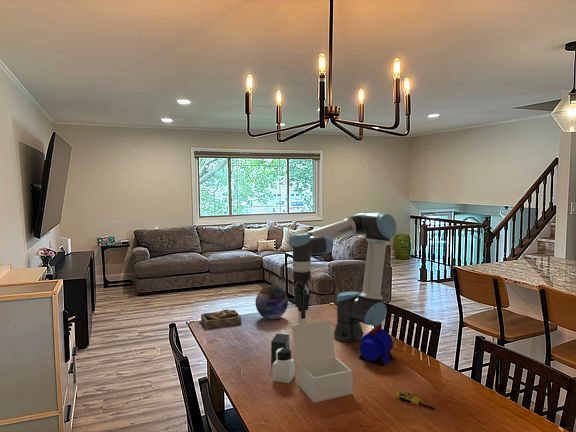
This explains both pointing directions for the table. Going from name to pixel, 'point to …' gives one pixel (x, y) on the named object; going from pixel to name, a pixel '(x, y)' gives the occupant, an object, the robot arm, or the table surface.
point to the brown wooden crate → (221, 315)
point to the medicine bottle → (283, 366)
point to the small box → (278, 344)
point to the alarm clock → (377, 346)
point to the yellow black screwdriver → (410, 399)
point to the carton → (324, 379)
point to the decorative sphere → (271, 302)
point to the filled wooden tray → (220, 321)
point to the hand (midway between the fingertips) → (302, 325)
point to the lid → (313, 341)
